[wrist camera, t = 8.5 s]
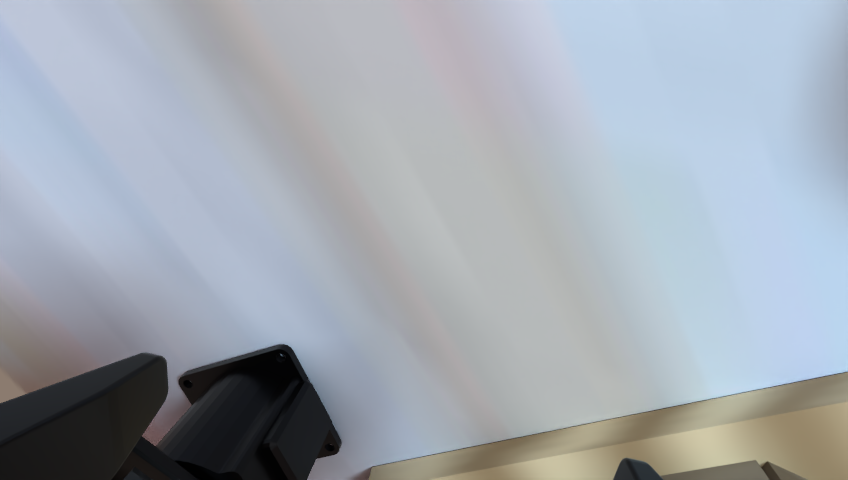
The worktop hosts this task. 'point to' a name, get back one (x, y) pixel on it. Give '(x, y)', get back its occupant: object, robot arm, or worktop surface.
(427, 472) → the dial base
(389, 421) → the worktop surface
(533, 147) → the worktop surface
